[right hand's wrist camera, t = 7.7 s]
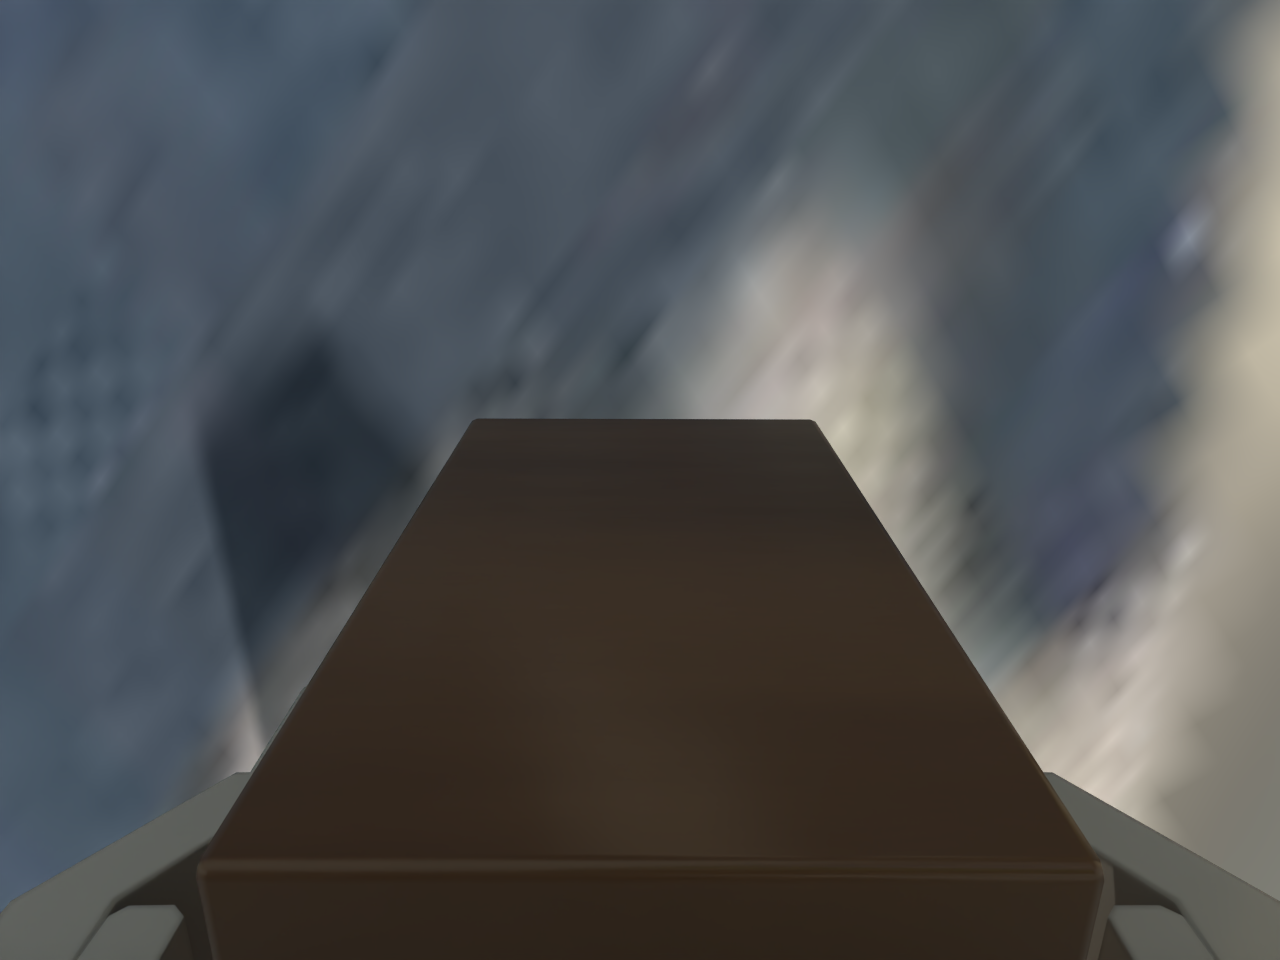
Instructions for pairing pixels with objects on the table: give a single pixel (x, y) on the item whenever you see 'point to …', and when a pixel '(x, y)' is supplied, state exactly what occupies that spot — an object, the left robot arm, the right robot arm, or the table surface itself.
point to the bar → (647, 731)
